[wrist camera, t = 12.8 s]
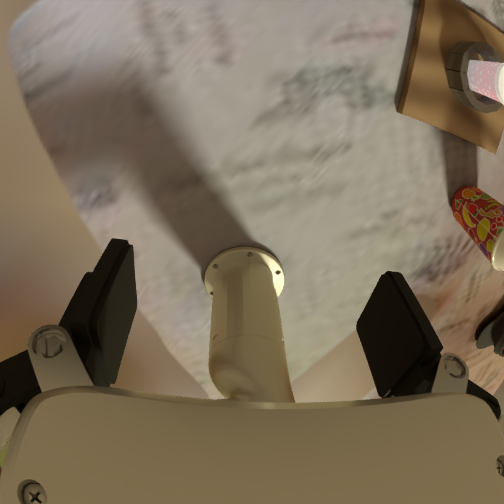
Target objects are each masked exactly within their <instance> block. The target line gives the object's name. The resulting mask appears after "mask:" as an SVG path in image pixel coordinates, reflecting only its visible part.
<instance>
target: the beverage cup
mask: <svg viewBox="0 0 504 504" xmlns="http://www.w3.org/2000/svg"><path fill="white" fill-rule="evenodd" d="M467 76H468V82H469V87H470V89H471V90H472V91H475V92H477V93H480V94H482V95H485V96H487V97H489V98H492V99H494V100H496V101H498V102H500V103H502V104H503V105H504V63H498V62H489V61H478V60H470V61H469V66H468V71H467Z"/></svg>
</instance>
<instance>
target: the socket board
mask: <svg viewBox="0 0 504 504" xmlns="http://www.w3.org/2000/svg"><path fill="white" fill-rule="evenodd" d="M470 60H478V61H489V62H498V63H504V35H503V34H502V33H501V32H499V31H498V30H497V29H495V28H494V27H493V26H491V25H490V24H489V23H487V22H486V21H485V20H483V19H482V18H480V17H479V16H477V15H476V14H474V13H473V12H472V11H470V10H468V9H467V8H465V7H464V6H462V5H461V4H459V3H458V2H456V1H454V0H420V3H419V10H418V16H417V22H416V28H415V34H414V39H413V44H412V49H411V54H410V59H409V64H408V68H407V73H406V77H405V82H404V86H403V90H402V94H401V98H400V102H399V106H398V110H397V112H398V113H401V114H403V115H406V116H409V117H412V118H414V119H417V120H420V121H422V122H425V123H427V124H430V125H433V126H435V127H437V128H440V129H442V130H445V131H447V132H449V133H452V134H454V135H456V136H459V137H461V138H463V139H465V140H467V141H469V142H472V143H474V144H476V145H478V146H480V147H482V148H484V149H486V150H488V151H490V152H492V153H494V154H496V152H497V149H498V145H499V142H500V139H501V136H502V132H503V129H504V105H503V104H502V103H500V102H498V101H496V100H494V99H492V98H489V97H487V96H485V95H482V94H480V93H477V92H475V91H472V90H471V89H470V87H469V82H468V76H467V71H468V66H469V61H470Z"/></svg>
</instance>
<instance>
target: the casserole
mask: <svg viewBox="0 0 504 504" xmlns="http://www.w3.org/2000/svg"><path fill="white" fill-rule="evenodd" d="M491 345H494V352H495V354H499V355H500V356H502V357H504V311H503V312H502V313H501V314H500V315H499V316H498V317H497V318H496V319H495V320H493V321H492V322H491V323H489V324H488V325H487V326H486V327H485V328H484V329H483V331H482V332H481V334H480V335H479V337H478V340H477V344H476V346H477V348H478V349H483V348H486V347H488V346H491Z"/></svg>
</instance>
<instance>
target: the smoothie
mask: <svg viewBox="0 0 504 504" xmlns="http://www.w3.org/2000/svg"><path fill="white" fill-rule="evenodd" d="M452 211H453V215H454V217H455V219H456V220H457V221H458V223H459V224H460V225H461V226H462V227H463V229H464V230H465V231H466V232H467V233H468V235H469V236H470V237H471V238H472V239H473V241H474V242H475V243H476V244H477V246H478V247H479V248H480V250H481V251H482V252H483V253H484V255H485V256H486V257H487V259H488V260H489V261H490V263H491V264H492V266H493V267H494V268H495V269H496V270H499V271H504V206H503V205H502V204H500V203H499V202H498V201H496V200H495V199H493V198H492V197H490V196H489V195H487V194H486V193H484V192H483V191H481V190H480V189H478V188H477V187H474V186H470V187H469V186H465V187H462V188H461V189H459V190H458V191H457V192H456V194H455V195H454V197H453V200H452Z"/></svg>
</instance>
